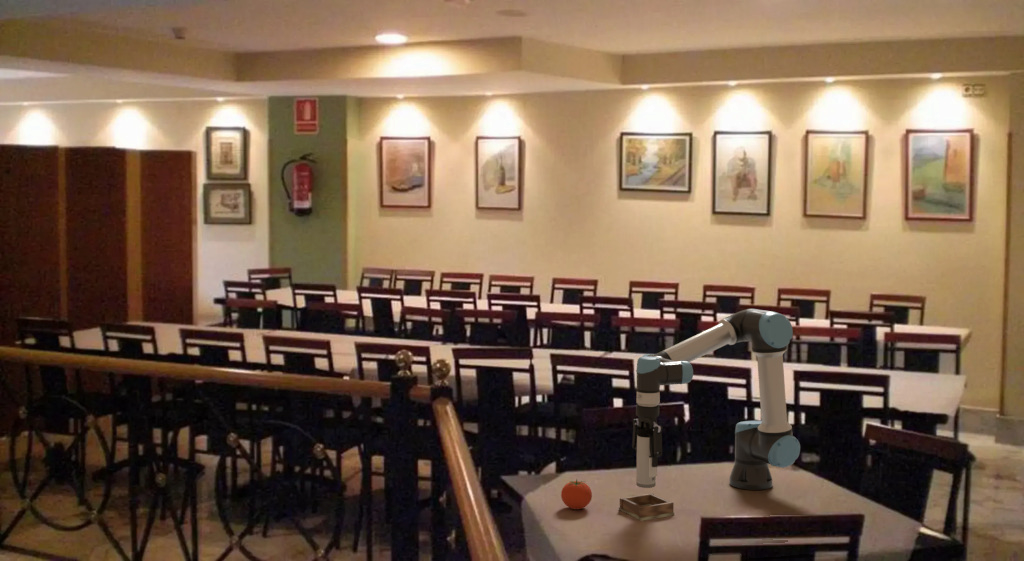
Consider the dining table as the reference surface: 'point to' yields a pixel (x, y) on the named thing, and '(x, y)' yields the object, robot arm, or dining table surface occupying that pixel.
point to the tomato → (576, 494)
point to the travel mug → (644, 459)
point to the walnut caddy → (646, 506)
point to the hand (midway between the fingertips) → (646, 473)
